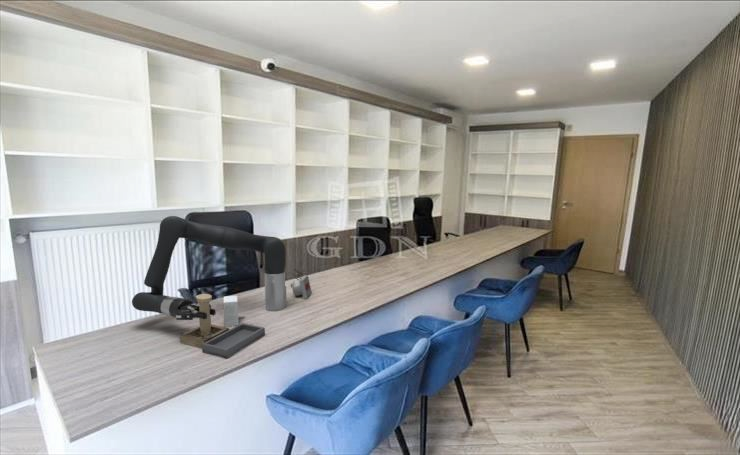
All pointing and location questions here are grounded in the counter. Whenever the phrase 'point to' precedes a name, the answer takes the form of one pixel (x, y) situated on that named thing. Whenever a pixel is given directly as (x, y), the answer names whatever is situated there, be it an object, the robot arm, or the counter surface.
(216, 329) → the socket collar
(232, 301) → the small box
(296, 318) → the counter surface
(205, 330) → the handle
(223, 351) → the tray
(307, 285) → the voltmeter
